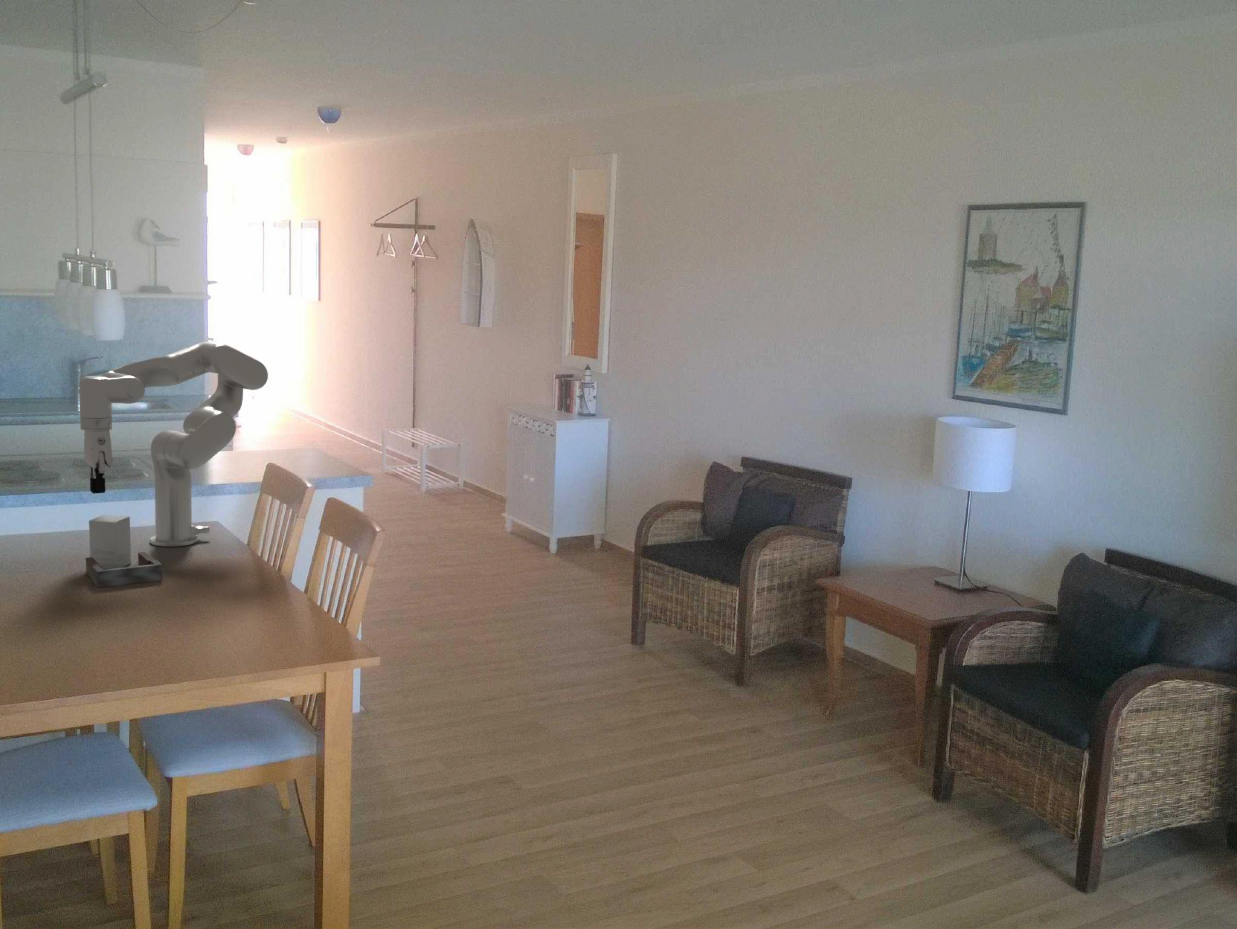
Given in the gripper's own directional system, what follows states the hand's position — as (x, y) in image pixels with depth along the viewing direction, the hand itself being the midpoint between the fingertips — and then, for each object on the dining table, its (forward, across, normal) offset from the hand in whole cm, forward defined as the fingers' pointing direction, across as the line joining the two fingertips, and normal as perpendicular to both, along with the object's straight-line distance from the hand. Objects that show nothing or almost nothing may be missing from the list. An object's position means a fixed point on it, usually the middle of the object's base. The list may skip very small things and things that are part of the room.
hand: (97, 492), depth 297 cm
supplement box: (+17, -12, 0) cm, 21 cm away
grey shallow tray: (+17, -24, 0) cm, 29 cm away
